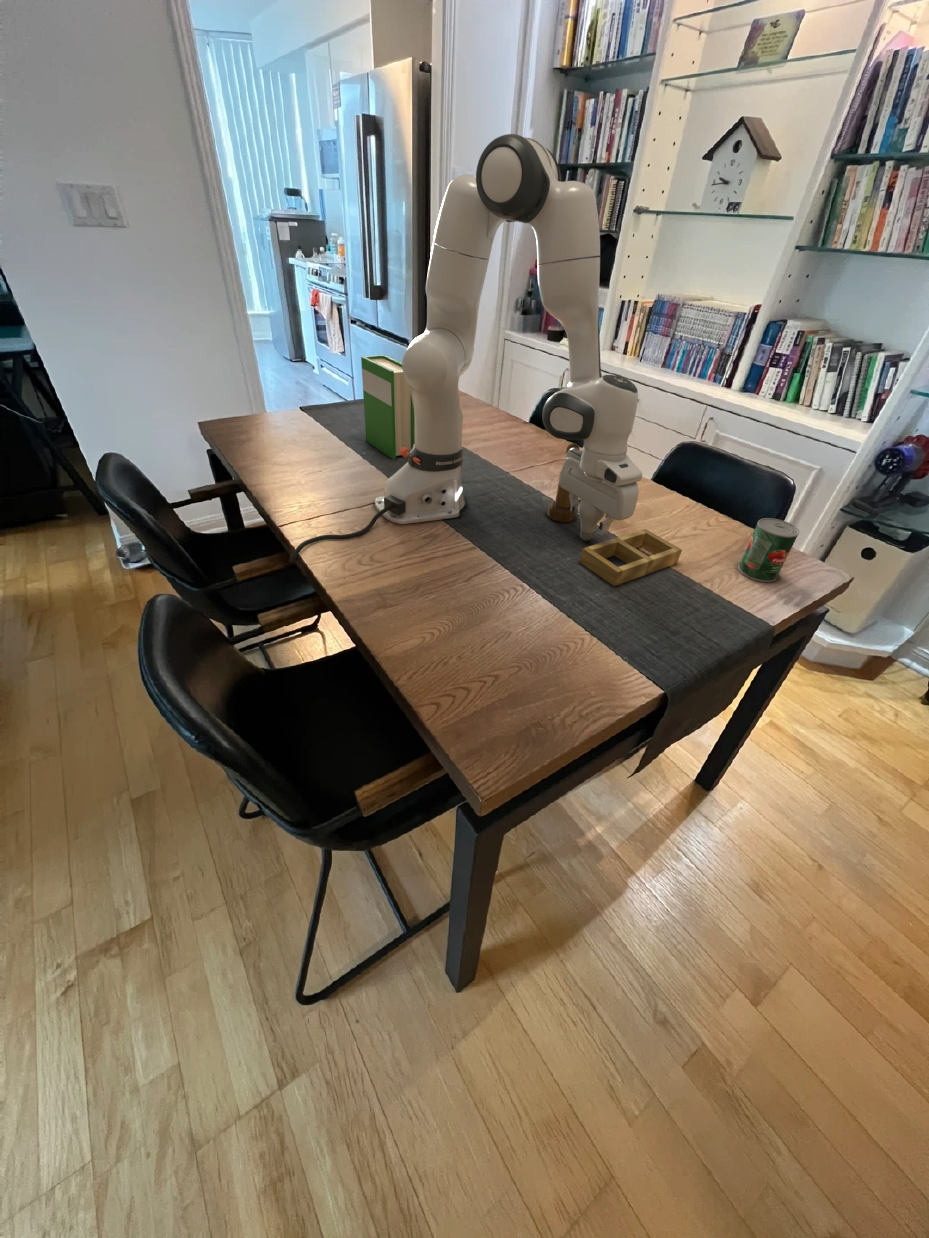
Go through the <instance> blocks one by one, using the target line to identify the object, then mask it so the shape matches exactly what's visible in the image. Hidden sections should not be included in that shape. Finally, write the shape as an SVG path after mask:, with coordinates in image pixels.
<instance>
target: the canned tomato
mask: <svg viewBox="0 0 929 1238" xmlns="http://www.w3.org/2000/svg"><path fill="white" fill-rule="evenodd" d="M799 534H800V529H799V528H798V527H797V526H796V525H794V524H792V523H790V522H788V521H785V520H782V519H778V518H773V517H765V518H761V519H759V520H758V521H757V523H756V526H755V528H754V530H753V532H752V535H751V537H750V539H749V542H748V543H747V546H746V548H745V550H744V553H743V555H742V557H741V560H740V561H739V563H738V566H737V569H738V571H739V572H740V573H741V574H742V575H743V576H745V577H746V578H748V579H751V580H753V581H756V582H762V583H771V582H775V581H776V580H777V579H778V575H779V574H780V572H781V570H782V568H783V566H784V564H785V562H786V560H787V558H788V556H789V554H790V553H791V550H792V549H793V546H794V545H795V543H796V540H797V538H798V536H799Z"/></svg>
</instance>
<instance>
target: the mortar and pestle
mask: <svg viewBox="0 0 929 1238" xmlns="http://www.w3.org/2000/svg"><path fill="white" fill-rule="evenodd" d="M573 448H577V449H579V450H580V446H579V444H577V443H574V442H573V443H569V444H568V445H567V446H566V448H565V452H566V454H567V452H568V451H569V450H570V449H573ZM560 474H561V471H560V472H559V475H560ZM559 478H560V476H559ZM559 478H558V479H559ZM556 489H557V490H556V495H555V500H554V501H553V502H551V503H550V504H548V509H547V514H546V515H547V517H548V518H550V519H551V520H553V521H557V522H561V523H568V522H572V521H573V520H574V519H575V515H576V514H574V513H573V512H571V511H570V508H571V503H570V499H569V493H570V492H568V491H567V490H565V489H563V488H562V487H560V484H559V482H558V485H557V488H556Z"/></svg>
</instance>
